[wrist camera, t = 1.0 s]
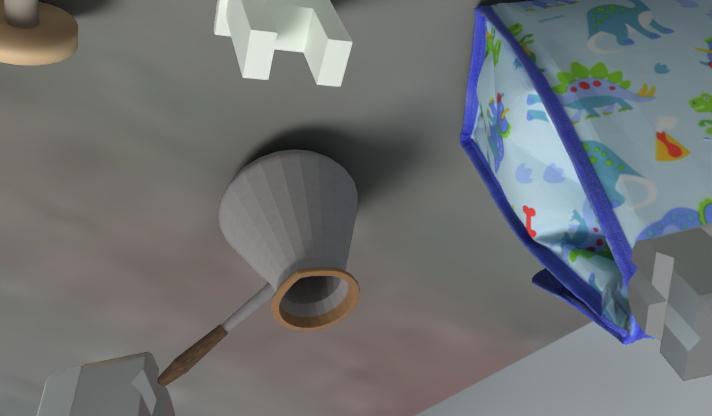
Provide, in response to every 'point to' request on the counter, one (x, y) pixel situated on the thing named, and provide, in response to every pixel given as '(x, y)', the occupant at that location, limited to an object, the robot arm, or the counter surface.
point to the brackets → (285, 35)
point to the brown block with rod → (35, 33)
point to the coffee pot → (288, 244)
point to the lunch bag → (593, 135)
